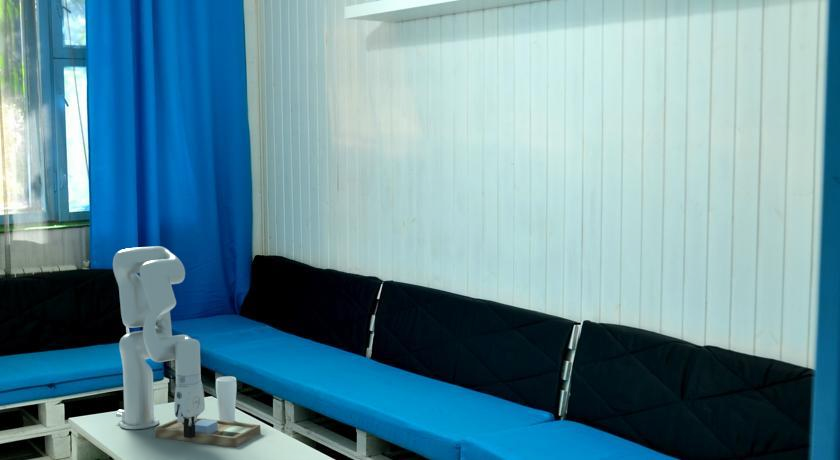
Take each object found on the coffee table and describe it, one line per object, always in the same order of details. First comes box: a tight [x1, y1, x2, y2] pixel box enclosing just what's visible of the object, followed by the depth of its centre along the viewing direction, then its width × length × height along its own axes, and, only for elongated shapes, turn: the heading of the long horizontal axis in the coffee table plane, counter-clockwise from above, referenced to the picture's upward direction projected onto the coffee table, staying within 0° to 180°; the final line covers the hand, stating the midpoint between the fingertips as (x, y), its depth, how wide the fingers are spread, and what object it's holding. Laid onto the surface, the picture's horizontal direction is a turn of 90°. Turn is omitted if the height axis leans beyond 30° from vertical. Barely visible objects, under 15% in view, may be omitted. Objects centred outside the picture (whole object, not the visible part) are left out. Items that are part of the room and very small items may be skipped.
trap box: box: [154, 417, 261, 448], centre depth 302 cm, size 30×15×3 cm, turn 69°
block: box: [195, 420, 218, 434], centre depth 299 cm, size 6×6×3 cm
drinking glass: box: [215, 375, 237, 422], centre depth 316 cm, size 7×7×15 cm
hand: (189, 437), depth 290 cm, fingers closed
